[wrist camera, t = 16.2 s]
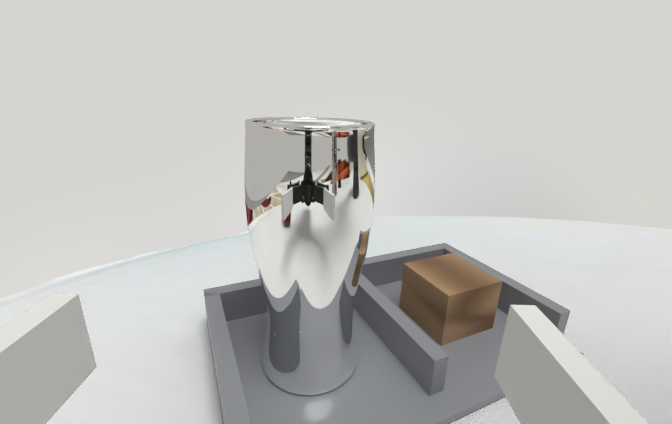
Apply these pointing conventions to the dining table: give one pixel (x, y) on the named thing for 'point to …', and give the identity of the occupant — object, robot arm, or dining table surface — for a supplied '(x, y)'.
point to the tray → (367, 355)
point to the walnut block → (449, 297)
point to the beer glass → (309, 241)
